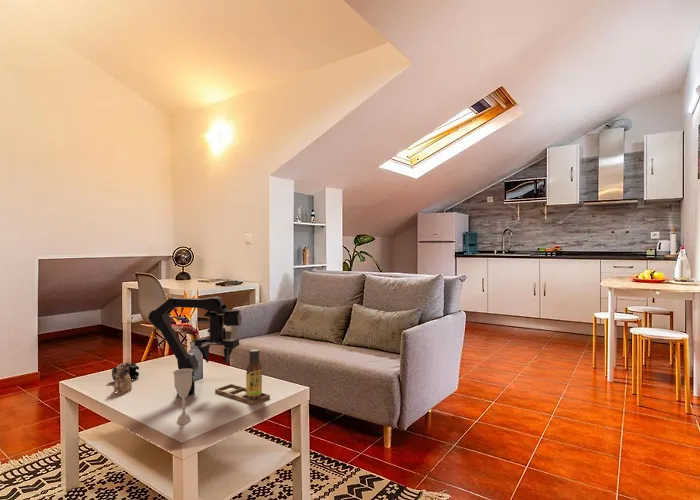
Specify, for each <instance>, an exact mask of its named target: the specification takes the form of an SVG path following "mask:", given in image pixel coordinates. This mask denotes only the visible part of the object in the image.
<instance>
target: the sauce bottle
mask: <svg viewBox="0 0 700 500" xmlns="http://www.w3.org/2000/svg"><path fill="white" fill-rule="evenodd" d="M248 354H249V362H248V364H247V365H246V373H245V374H246V375H245V376H246V380H245V382H246V385H245V388H246V395H247V396H246V398H247V399H250V400H253V401H254V400H257V399H259V398H261V394H262V393H263V391H262V390H263V384H262V382H263V379H262V378H263V370H262V369H263V368H262V364H261V363H260V349H258V348H253V349H250V350H249V353H248Z"/></svg>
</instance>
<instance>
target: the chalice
mask: <svg viewBox="0 0 700 500" xmlns="http://www.w3.org/2000/svg"><path fill="white" fill-rule="evenodd" d="M192 371H193V369H189V368H185V369H179V368H178V369H175V370H174V371H173V372H172V374H173V376H174V377H173V378H174V379H173V380H174V381H173V383H174V387H175V390H176V394H177V393H178V395H179V396H178V397H179V398H181V402H180V403H181V405H182V406H181V410H182V413H180V414H179V416H178V418H177V421H176V424H178V425H186V424H189V423H191V422H192V418H191V416H190V414H189V413H187V412H186V409H187V406H186V403H187V402H186V397H188V396H189V395H188V393H189V391H190V388H191V385H192Z"/></svg>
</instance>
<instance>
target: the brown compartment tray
mask: <svg viewBox="0 0 700 500" xmlns="http://www.w3.org/2000/svg"><path fill="white" fill-rule="evenodd" d="M214 389H215V390H214V393H215V394H218V395H221V396H223V397H227V398H230V399H233V400H237V401H240V402H243V403H246V404H249V405H251V406H252V405H253V406H255V405H257V404H259V403H262V402H264V401H267V400H270V399H271V394H269V393H265V392H262V394H261V398H259V399H257V400H254V401H253V400H250V399H247V398H246V396H247V395H246V387H244V386H240V385H237V384H233V383H230V384H227V385H224V386H221V387H217V388H214Z"/></svg>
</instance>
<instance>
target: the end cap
mask: <svg viewBox="0 0 700 500" xmlns="http://www.w3.org/2000/svg"><path fill="white" fill-rule="evenodd" d="M127 367H128V368H129V370H130V372H129V376H130V378H131V381H133V380H132V379H135V380H137V379H136V378H139V376H140V372H139V370H140V366H138V365H137V364H136V363H135V362H134V363H129V364H128V365H127ZM116 369H117V366H116V367H113V368H112V370H111V377H112V380H113V381H114V382H115V379H116V377H115V376H114V375H115V373H116ZM127 371H128V370H127V369H126V370H125V372H127Z"/></svg>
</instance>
